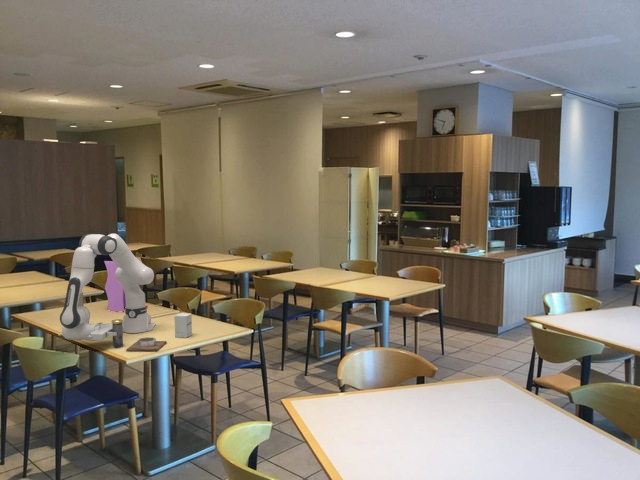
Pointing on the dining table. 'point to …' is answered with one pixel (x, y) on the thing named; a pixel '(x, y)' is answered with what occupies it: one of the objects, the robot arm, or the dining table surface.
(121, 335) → the dark grey canister
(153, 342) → the steel collar
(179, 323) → the supplement box
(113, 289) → the container
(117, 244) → the robot arm
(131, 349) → the mount plate
